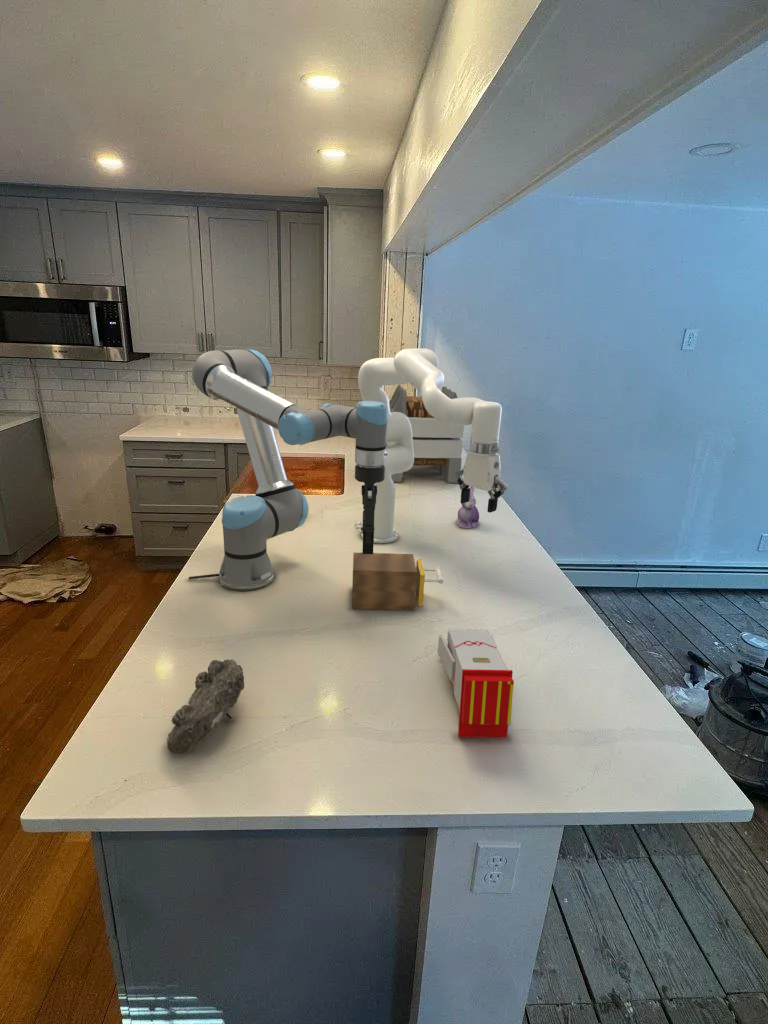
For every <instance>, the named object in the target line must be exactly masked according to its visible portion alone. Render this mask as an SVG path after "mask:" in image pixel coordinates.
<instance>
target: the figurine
mask: <svg viewBox="0 0 768 1024" xmlns="http://www.w3.org/2000/svg"><path fill="white" fill-rule="evenodd" d="M469 488H470V498H469V502H466V503H461V502H460V503H461V507H460V508H459V509H458V510H457V519H456V524H457V525H458V526H459V528H462V529H463V528H464V529H472V528H475V527H477V526H478V525H479V520H480V513H479V509H478V508H477V506H476V504H477V500H476V497H475V495H474V492H475V491H474V490H475V487H472V486H469Z"/></svg>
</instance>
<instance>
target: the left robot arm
mask: <svg viewBox="0 0 768 1024" xmlns="http://www.w3.org/2000/svg"><path fill="white" fill-rule="evenodd" d="M272 378H273V371H272V367H271V364H270V362H269V360H268V359H267V358H266V356H265V355H264V354H262V353H261V352H260V351H258V350H256V349H248V348H240V349H226V350H224V349H223V350H221V349H220V350H219V349H218V350H216V349H215V350H210V351H206V352H204V353H202V354H201V355H200V356H198V358H196V360H195V362H194V364H193V367H192V381H193V382H194V383H193V384H194V386H195V387H196V388H197V389H198V390H199V391H200V392H201V394H203V395H205V396H206V397H208V398H210V399H212V400H215V401H217V402H218V401H223V402H226V403H228V404H229V405H231V406H233V407H235V408H236V412H237V415H238V419H239V423H240V426H241V428H242V433H243V437H244V440H245V444H246V447H247V450H248V454H249V458H250V461H251V465H252V468H253V469H252V470H253V473H254V476H255V479H256V483H257V489H256V491H255V492H254V494H255V495H246V496H244V495H242V496H238V497H234V498H232V499H230V500H229V501H227V502H226V503H225V504H224V505H223V507H222V512H221V513H222V514H221V516H222V517H221V524H222V537H223V553H224V555H223V559H222V562H221V565H220V569H219V572H218V573H210V574H202V575H201V574H200V575H193V576H188V580H198V579H206V578H215V577H216V578H217V577H218V581H219V584H220V585H221V586H222V587H224V588H226V589H229V590H233V591H239V592H240V591H243V592H244V591H254V590H258V589H259V590H260V589H263V588H264V587H267V586H268V585H270V584H271V583H272V582H273V581H274V579H275V570H274V568H273V565H272V563H271V560H270V556H269V554H268V551H267V540H269V539H272V538H275V537H278V536H280V535H283V534H285V533H288V532H294V530H296V529H298V528H300V527H302V526H303V525H304V524H305V523H306V520H307V518H308V516H309V503H308V500H307V497H306V495H305V494H303V492H302V491H301V490H299V489H297V488H296V486H295V483H294V482H292V481H291V480H289V479H288V477H287V474H286V470H285V466H284V463H283V459H282V456H281V451H280V449H279V444H278V441H277V437H276V434H275V430H274V429H276V430H277V432H278V434H279V436H280V438H282V440H283V442H284V443H285V444H287V445H289V446H298V445H299V446H302V445H306V444H309V443H313V442H317V441H321V440H327V439H331V438H337V437H346V438H351V439H355V446H354V453H355V454H354V463H355V465H354V479H355V481H357V482H359V483H363V484H361V498H362V499H361V500H362V506H363V507H362V509H363V510H362V523H363V527H361V529H360V531H361V533H362V534H363V538H362V549H361V550H362V551H361V553H362V554H373V553H374V546H375V545H374V544H375V543H374V530H375V528H374V510H375V505H376V496H377V486H374V484H375V483H379V482H382V481H383V480H384V478H385V466H384V464H385V456H387V455H388V452H385V451H386V450H385V448H386V431H387V423H388V420H387V407H386V405H385V404H384V403H382V402H377V401H375V402H374V401H363V400H362V401H359V402H357V404H356V407H352V406H347V405H342V404H339V403H323V404H322V405H321V406H320V407H319V408H313V409H306V408H303V407H301V406H300V405H298V404H296V403H293V402H291V401H289V400H287V399H285V398H284V397H281V396H280V395H278V394H276V393H274V392H271V391H270V390H269V386H270V385H271V383H272Z"/></svg>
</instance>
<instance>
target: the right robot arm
mask: <svg viewBox="0 0 768 1024" xmlns="http://www.w3.org/2000/svg"><path fill="white" fill-rule="evenodd" d="M439 364H440V363H439V357H438V356H437V354H436V353H435V352H434V351H433V350H432V349H429V348H425V347H421V348H420V347H418V348H417V347H416V348H404V349H401V350H400V351H398V352H397V353H396V354H395V356H394V357H376V358H371V359H368V360H366V361H365V362H364V363H362V365H361V366H360V368H359V370H358V375H357V383H358V389H359V392H360V396H361V399H362V401H374V402H375V401H377V402H382V403H384V404H385V405H386V407H387V420H388V423H387V431H386V442H391V443H392V446H386V448H385V450H386V451H385V452H388V455H387V456H385V464H384V466H385V478H384V480H383V481H382V482H379V483H375V484H374V486H377V496H376V505H375V510H374V528H375V530H374V544H389V543H393V542H395V541H397V540H398V537H399V534H398V532H397V531H396V530H395V528H394V527H395V510H396V509H395V508H396V507H395V506H396V485H395V482H393V480H392V478H391V475H393V474H396V473H401V472H403V473H405V472H408V471H409V470H412V467H414V466H413V463H414V448H413V438H412V429H411V424H410V421H409V419H408V418H407V416H406V415H405V414H403V413H401V412H390V406H389V401H390V400H389V397H388V395H387V393H386V391H385V389H383V386H395V385H397V386H398V385H406V384H410V386H412V387H413V388H414V389H415V390H416V391H418V392H419V393H420V394H421V397H422V400H423V404H424V406H425V408H426V410H427V411H428V413H429V414H430V415H431V416H433V417H434V418H435V419H436V420H437V421H438V422H440V423H441V424H443V425H445V426H448V427H456V426H462V425H464V426H470V425H471V430H470V431H471V434H470V443H469V450H468V451H467V453H466V456H465V460H464V461H465V462H464V467H463V469H461V470H460V471H458V472H456V476H457V479H458V480H457V482H458V483H457V484H458V485H459V489H460V503H466V502H469V498H470V487H471V486H472V487H474V489H479V490H482V491H485V492H487V494H488V495H489V498H488V501H487V511H486V512H487V513H489V514H490V513H493V512H496V511H497V509H498V503H499V502H498V501H499V498H500V497H502V496H503V495H504V494H505V492H506V490H507V489H508V484H507V483H505V482H504V480H502V479H501V478H502V477H501V475H502V465H501V456H500V455H501V454H499V453H500V452H501V451H502V447H500V446H499V442H500V441H499V440H500V432H501V422H502V413H503V407H502V405H501V404H500V403H498V402H496V401H487V400H483V399H481V398H479V397H475V396H468V397H467V396H466V397H457V398H455V399H450V398H449V397H447V396H446V395H445V394H444V393H442V387H444V383H445V375H444V373H443V371H442V370H441V369H439ZM354 527H355V529H356V530H361V527H363V521H355V522H354ZM360 535H361V538H362V539H363V534H362V532H361V534H360Z"/></svg>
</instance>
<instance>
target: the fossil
mask: <svg viewBox="0 0 768 1024" xmlns="http://www.w3.org/2000/svg"><path fill="white" fill-rule="evenodd" d="M243 670H244V669H243V667H242V665H240V664H237V662H236V661H235V660H234V659H232V658H231V659H227V658H226V659H224V660H223V661H222V660H217V659H212V660H211V661H210V663H209V665H208V666H207V671H201V672H199V673H198V674H197V675H196V676H195V680H194V684H195V685H194V687H195V689H194V690H193V693H192V694H191V697H190V698H189V700H188V704H184V705H182V706H181V707H180V709H177V710H176V711H175V713H174V715H173V716H172V718H171V723H172V724H173V727H172V730H171V731H170V732H168V734H167V738H166V741H167V742H166V745H167V749H168V750H169V751H173V752H174V753H176V754H178V753H182V752H188V751H189V752H192V751H193V750H195V748H196V747H197V746H199V744H200V743H201V742H203V741H204V740H205V739H206V738H207V737H208V736H209V735H210V734H211V733H212V732H214V730H215V729H217V727H218V726H219V724H220V722H221V721H222V720H223V719H224V718H225V716H226V717H227V719H229V720H233V717H232V715H230V714H229V710H230V709H231V708H234V706H235V704H236V703H237V702H238V699H239V697H240V695H241V693H242V691H243V690H245V689H244V688H245V675H244V671H243Z"/></svg>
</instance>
